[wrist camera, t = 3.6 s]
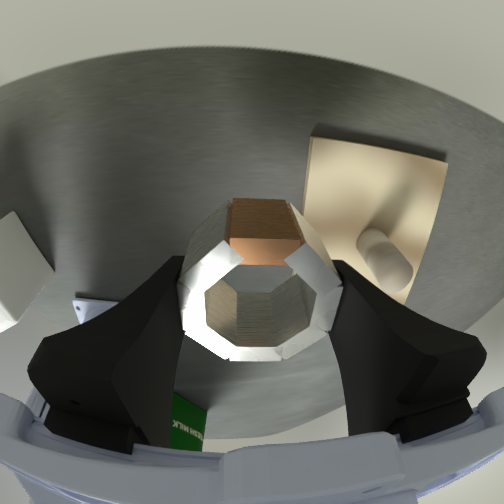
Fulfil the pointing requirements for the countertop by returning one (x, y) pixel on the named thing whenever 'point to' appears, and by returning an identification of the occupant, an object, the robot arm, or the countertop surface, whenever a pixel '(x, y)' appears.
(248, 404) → the countertop surface
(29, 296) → the medicine bottle
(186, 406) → the milk carton
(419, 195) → the duct board
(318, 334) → the collar
